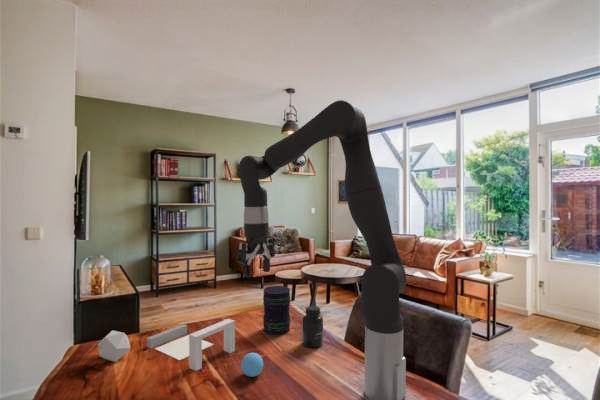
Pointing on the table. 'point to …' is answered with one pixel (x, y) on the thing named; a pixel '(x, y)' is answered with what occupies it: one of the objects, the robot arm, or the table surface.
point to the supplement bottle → (312, 327)
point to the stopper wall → (166, 336)
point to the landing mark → (180, 348)
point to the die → (113, 346)
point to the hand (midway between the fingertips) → (257, 274)
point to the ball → (252, 364)
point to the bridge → (196, 337)
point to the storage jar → (276, 310)
